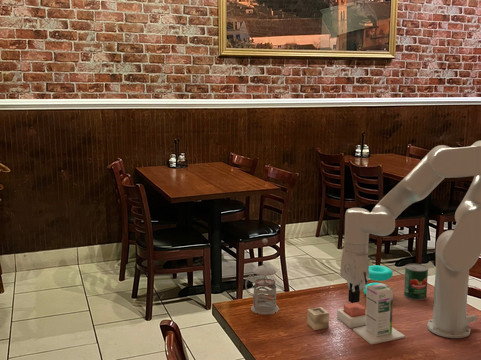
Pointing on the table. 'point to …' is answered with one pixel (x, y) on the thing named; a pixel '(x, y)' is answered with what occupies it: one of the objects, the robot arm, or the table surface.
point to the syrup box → (379, 309)
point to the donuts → (378, 274)
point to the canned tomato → (416, 281)
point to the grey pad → (383, 338)
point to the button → (354, 309)
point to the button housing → (351, 319)
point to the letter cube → (318, 318)
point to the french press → (262, 303)
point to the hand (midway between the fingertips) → (353, 301)
